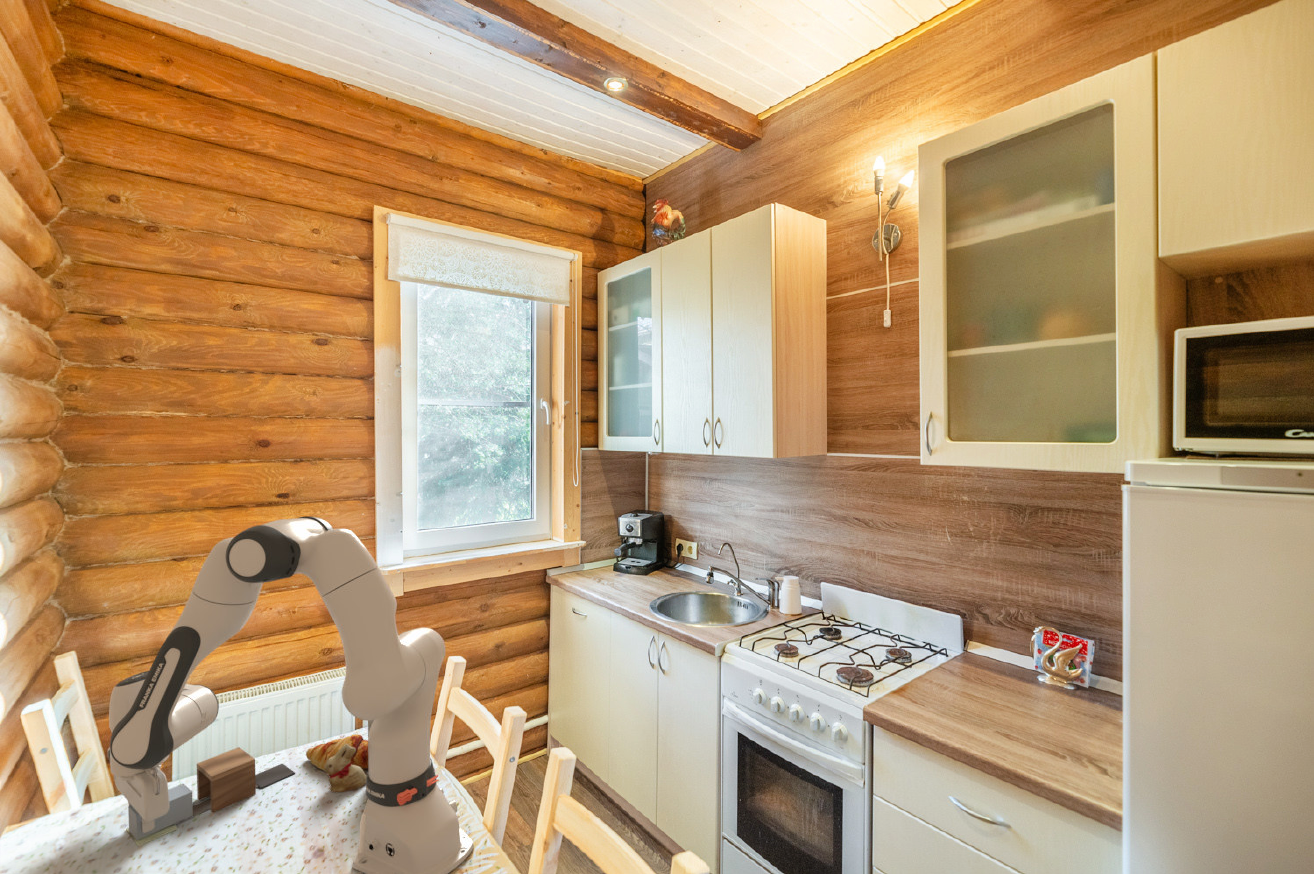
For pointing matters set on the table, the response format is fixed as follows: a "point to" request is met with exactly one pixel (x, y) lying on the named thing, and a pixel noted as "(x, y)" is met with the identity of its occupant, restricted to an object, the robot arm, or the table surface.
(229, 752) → the tunnel
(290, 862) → the table surface
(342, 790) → the chocolate bunny
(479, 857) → the table surface
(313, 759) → the croissant
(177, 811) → the block
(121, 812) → the table surface
